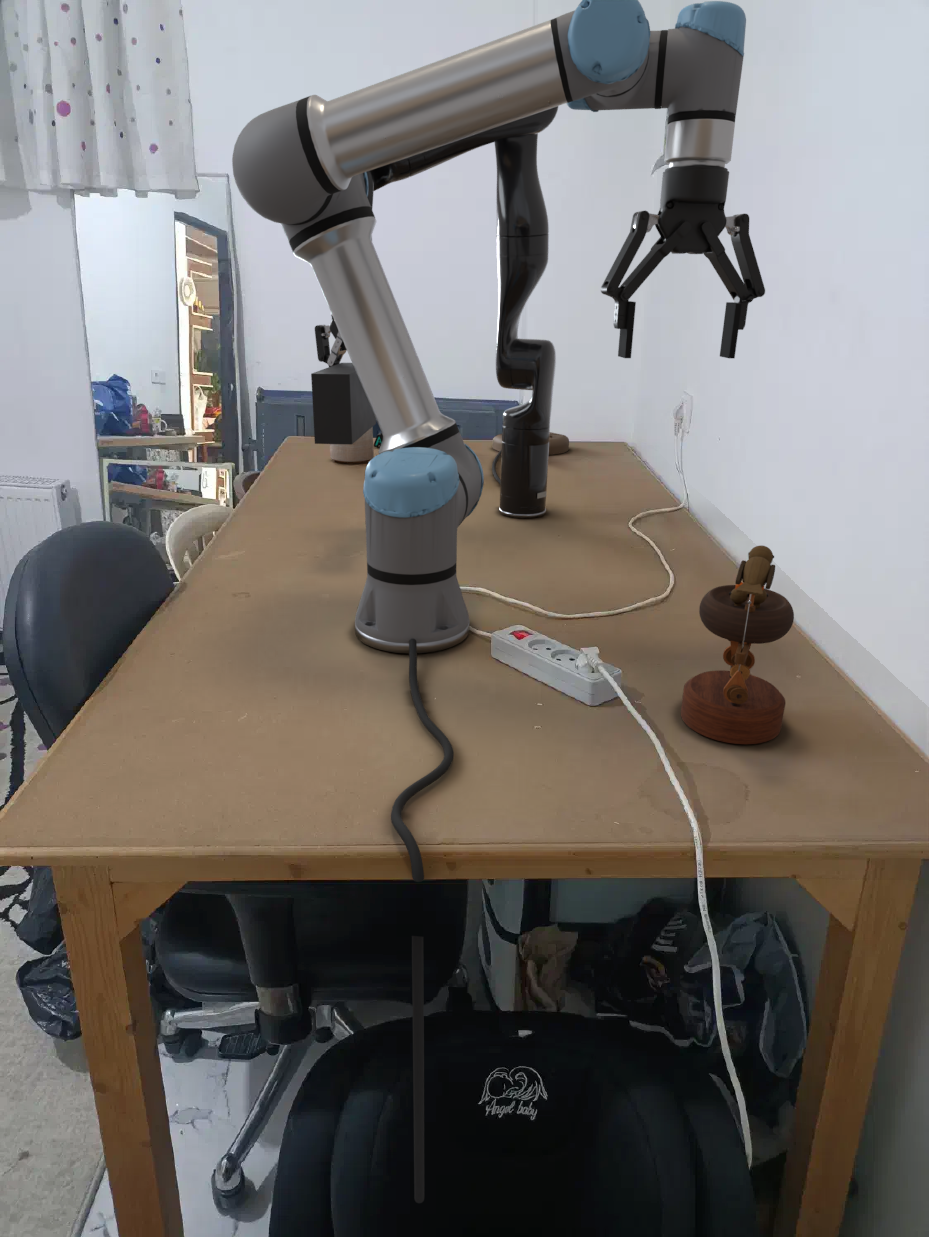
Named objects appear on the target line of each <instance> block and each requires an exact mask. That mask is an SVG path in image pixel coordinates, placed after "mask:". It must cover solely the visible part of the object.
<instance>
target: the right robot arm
mask: <svg viewBox="0 0 929 1237" xmlns="http://www.w3.org/2000/svg"><path fill="white" fill-rule="evenodd" d="M558 110H559V106H556V107H554V108H551V109H548V110H545V111H542V112H539V113H536V114H533V115H530V116H527V117H524V118H521V119H519V120H516V121H513V122H510V123H507V124H504V125H501V126H498V127H495V128H492V129H489V130H486V131H483V132H481V133H478V134H475V135H472V136H469V137H466V138H463V139H460V140H457V141H454V142H451V143H448V144H446V145H443V146H440V147H437V148H434V149H431V150H428V151H425V152H422V153H419V154H416V155H413V156H411V157H408V158H405V159H402V160H399V161H396V162H393V163H390V164H387V165H384V166H381V167H378V168H376V169H373V170H370V171H367V172H366V173H367V177H368V197H367V198H368V201H369V203H370V206H371V208H372V209H373V207H374V206H373V205H374V192H376V191H378V190H379V189H381V188H384V187H385V186H387V185H390V184H392V183H395V182H400V181H403V180H406V179H409V178H412V177H413V176H416V175H418V174H421V173H423V172H426V171H428V170H431V169H432V168H435V167H437V166H439V165H442V164H444V163H446V162H449V161H450V160H452V159H454V158H457V157H459V156H461V155H464V154H466V153H468V152H471V151H473V150H476V149H479V148H482V147H484V146H486V145H489V144H492V143H494V152H495V163H496V197H495V198H496V199H495V200H496V202H495V203H496V205H495V206H496V207H495V208H496V226H495V227H496V228H495V229H496V230H495V235H496V236H495V237H496V238H495V239H496V245H495V246H496V272H497V322H496V323H497V324H496V342H495V375H496V379H497V383H498V384H499V386H500V387H501V388H504V389H510V390H520V391H532V393H531V397H530V398H529V400H528V401H526V402H524V403H522V404H519V405H516V406H513V407H510V408H507V409H505V410H504V411H503V412H502V419H501V420H502V422H501V425H502V426H501V434H502V449H501V451H498V453H497V454H496V455H495V457H494V459H493V460H492V463H491V472H492V475H493V477H494V479H495V480H496V482H497V483H498V484H499V486H500V487H499V488H500V489H499V507H498V512H499V513H500V515H503V516H507V517H511V518H516V519H517V518H518V519H532V518H538V517H543V516H545V515H546V513H547V508H546V507H547V506H546V505H547V495H548V494H547V492H548V491H547V489H548V470H549V455H548V454H549V434H550V432H551V416H552V409H553V408H552V407H553V394H554V386H555V384H554V383H555V375H556V367H557V366H556V365H557V353H556V348H555V345H554V343H553V342H552V341H551V340H549V339H537V338H536V339H535V338H519V325H520V320H521V316H522V313H523V311H524V309H525V306H526V304H527V303H528V301H529V299H530V297H531V296H532V294H533V292H534V291H535V289H536V288H537V286H538V284H539V282H540V281H541V279H542V277H543V276H544V274H545V271H546V269H547V266H548V263H549V251H550V249H549V246H550V245H549V242H550V240H549V239H550V238H549V237H550V234H549V233H550V225H549V215H548V210H547V205H546V202H545V197H544V194H543V191H542V186H541V182H540V178H539V171H538V138H539V134H540V133H542V132H543V131H544V130H546V129H547V128H548V127H549V126H550V125H551V124H552V123H553V122H554V120H555V118H556V116H557V113H558ZM371 240H372V241H373V236H372V237H371ZM330 316H331V322H330V324H329V325H327V324H317V325H315V326H314V337H315V344H316V354H317V361H318V362H322V363H325V364H327V365H328V367H331V366H334V365H337V364H339V363H341V361H342V359H343V356H344V355H345V354H346V353H347V352H348V351H347V349H346V347H345V344H344V342H343V340H342V337H341V335H340V332H339V330H338V328H337V325H336V323H335V321H334V318H333V316H332V313H331V312H330ZM331 334H332V336H333V338H334V339H335V340H334V342H333V344H332V347H330V336H331ZM500 457H501V458H500ZM499 459H500V476H499V475H498V473H497V470H496V465H497V462H498V460H499Z"/></svg>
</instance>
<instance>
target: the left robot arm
mask: <svg viewBox="0 0 929 1237" xmlns="http://www.w3.org/2000/svg"><path fill="white" fill-rule="evenodd" d="M746 28H747V16H746V13H745V11H744V9H743V8H742V7H741V6H740V5H739V4H736V3H734V2H730V1H723V0H722V1H721V0H711V1H704V2H697V3H691V4H688V5H686V6H685V7H683V8H682V9H681V10H680V11H679V12H678V15H677V20H676V23H675V24H674V28H668V29H661V30H651V26H650V22H649V20H648V18H647V17H646V13H645V10H644V8H643V6H642V4H641V3H640V1H639V0H581V1H580V3H579V4H578V5H577V7H576V8H575V10H572V11H569V12H566V13H563V14H561V15H559V16H557V17H554V18H552V19H549V20H546V21H543V22H541V23H537V24H535V25H532V26H530V27H527V28H524V29H521V30H519V31H516V32H512V33H511V34H508V35H506V36H503V37H499V38H497V39H495V40H492V41H489V42H486V43H483V44H481V45H480V44H479V45H478V46H475V47H473V48H469V49H467V50H464V51H461V52H459V53H456V54H453V55H450V56H447V57H444V58H443V59H440V60H436V61H434V62H432V63H429V64H426V65H424V66H423V65H422V66H421V67H418V68H415V69H413V70H410V71H406V72H404V73H401V74H399V75H396V76H393V77H390V78H387V79H385V80H382V81H379V82H376V83H374V84H370V85H368V86H366V87H362V88H360V89H358V90H357V89H356V90H354V91H352V92H350V93H349V92H348V93H346V94H343V95H342V96H338V97H336V98H333V99H330V100H326V99H324V98H322V97H321V96H319V95H317V94H312V95H309V96H306V97H303V98H300V99H299V100H295V101H293V102H289V103H287V104H283V105H281V106H278V107H274V108H273V109H269V110H267V111H265V112H263V113H261V114H258V115H257V116H255V117H253V118H252V119H251V120H249V122H247V123H246V125H245V126H244V127H243V128H242V129H241V131H240V133H239V134H238V136H237V138H236V141H235V144H234V146H233V151H232V159H231V162H232V164H231V165H232V175H233V179H234V182H235V185H236V188H237V190H238V191H239V193H240V196H241V197H242V199H243V201H245V203H246V205H248V206H249V207H250V208H251V209H252V211H254V212H255V213H256V214H258V215H259V216H260V217H262V218H263V219H265V220H268V221H271V222H274V223H276V224H280V226H281V228H282V230H283V233H284V234H285V237H286V240H287V242H288V244H289V247H290V249H291V250H292V251H291V252H292V253H293V255H294V257H296V258H298V259H300V260H301V261H304V262H306V263H308V264H309V265H310V266H311V269H312V271H313V273H314V275H315V278H316V280H317V282H318V285H319V287H320V290H321V293H322V295H323V297H324V299H325V301H326V304H327V306H328V309H329V311H330V314H331V313H332V316H333V318H334V321H335V323H336V325H337V328H338V330H339V332H340V335H341V337H342V340H343V342H344V344H345V347H346V349H347V351H346V352H347V354H348V356H349V358H350V361H351V363H353V366H354V368H355V370H356V373H357V375H358V378H359V380H360V382H361V385H362V387H363V389H364V392H365V394H366V397H367V399H368V401H369V404H370V406H371V408H372V411H373V413H374V416H375V418H376V424H377V425H378V427H379V429H380V433H382V435H383V441H382V443H381V446H380V445H379V448H378V452H377V453H378V454H377V455H374V457H373V459H371V460H370V461H368V463H367V464H366V467H365V471H364V481H363V489H362V494H363V497H364V517H365V518H364V520H365V545H366V546H365V548H366V549H365V550H366V579H365V584H364V586H363V589H362V592H361V596H360V600H359V602H358V606H357V609H356V612H355V618H354V633H355V636H356V638H357V639H358V640H359V641H360V642H362V643H363V644H365V645H367V646H368V647H371V648H374V649H377V650H380V651H384V652H390V653H396V654H397V653H398V654H408V662H409V663H408V680H409V681H408V682H409V689H410V694H411V698H412V701H413V704H414V707H415V710H416V713H417V715H418V717H419V719H420V721H421V724H423V726H424V727H425V728H426V730H427V731H428V732H429V734H431V735H432V736H433V737H434V738H435V739H436V740H437V741H438V743H439V744H440V745H441V747H442V749H443V758H442V761H441V762H440V763H439V765H438V766H436V768H434V769H433V770H432V771H431V772H429V773H427V774H426V775H424V776H423V777H421V778H420V779H418V780H416V781H415V782H413V783H412V784H410V785H409V786H408V787H406V788H405V789H404V790H402V791H401V793H400V794H398V796H397V797H396V799H395V800H394V802H393V805H392V808H391V813H390V821H391V824H392V826H393V828H394V830H395V832H396V833H397V834H398V835H399V837H400V838H401V840H402V841H403V843H404V845H405V847H406V850H407V853H408V856H409V860H410V866H411V876H412V879H413V881H414V882H416V883H422V882H423V880H425V872H424V864H423V858H422V854H421V851H420V847H419V845H418V842H417V840H416V839H415V837H414V835H413V833H412V832H411V830H410V829H409V828H408V826H407V825H406V824H405V822H404V820H403V817H402V814H403V813H402V812H403V810H404V807H405V805H406V804H407V803H408V802H409V800H410V799H411V798H412V797H414V796H415V795H416V794H417V793H419V792H420V791H422V790H424V789H425V788H426V787H428V786H430V785H431V784H432V783H435V782H436V781H437V780H439V779H440V778H442V776H444V775H445V774H446V773H447V772H448V770H450V768H451V766H452V763H453V761H454V748H453V745H452V743H451V741H450V739H449V738H448V737H447V735H446V734H445V732H443V731H442V730H441V729H440V728H439V727H438V726H437V725H436V724H435V723H434V721H432V719H431V718H430V717H429V715H428V713H427V710H426V708H425V705H424V703H423V700H422V697H421V692H420V688H419V682H418V654H425V653H433V652H439V651H443V650H446V649H449V648H452V647H455V646H457V645H458V644H460V643H462V642H463V641H464V640H466V639H467V637H468V636H469V634H470V616H469V612H468V608H467V606H466V601H465V599H464V596H463V593H462V589H461V586H460V583H459V581H458V577H457V561H458V560H457V559H458V558H457V557H458V556H457V554H458V528H459V527H460V526H461V524H462V523H464V521H465V519H466V518H468V517H469V516H470V515H471V514H472V513H473V512H474V510H475V509H476V507H477V506H478V503H479V502H480V499H481V497H482V493H483V488H484V483H485V482H484V480H485V479H484V477H485V475H484V470H483V466H482V463H481V461H480V458H479V457H478V455H477V454H476V453H475V451H474V450H473V448H471V447H470V446H469V445H468V444H466V443H465V441H464V439H463V437H462V434H461V431H460V429H459V427H458V424H457V422H456V420H455V419H454V418H452V417H450V416H447V415H445V414H443V413H442V412H441V411H440V408H439V406H438V403H437V401H436V399H435V398H436V397H435V396H434V393H433V391H432V388H431V386H430V383H429V381H428V379H427V376H426V373H425V371H424V368H423V365H422V363H421V361H420V358H419V356H418V353H417V351H416V348H415V344H414V343H413V340H412V338H411V335H410V333H409V330H408V328H407V325H406V323H405V321H404V318H403V315H402V313H401V311H400V308H399V305H398V303H397V301H396V297H395V295H394V292H393V290H392V288H391V285H390V282H389V280H388V278H387V275H386V272H385V271H384V270H385V269H384V268H383V265H382V263H381V260H380V258H379V255H378V252H377V250H376V248H375V246H374V242H373V239H372V240H371V237H372V238H373V233H374V231H375V228H376V224H377V219H376V216H375V214H374V211H373V207H372V208H371V206H370V203H369V201H368V198H367V197H368V177H367V173H366V172H367V171H370V170H373V169H376V168H378V167H381V166H384V165H387V164H390V163H393V162H396V161H399V160H402V159H405V158H408V157H411V156H413V155H416V154H419V153H422V152H425V151H428V150H431V149H434V148H437V147H440V146H443V145H446V144H448V143H451V142H454V141H457V140H460V139H463V138H466V137H469V136H472V135H475V134H478V133H481V132H483V131H486V130H489V129H492V128H495V127H498V126H501V125H504V124H507V123H510V122H513V121H516V120H519V119H521V118H524V117H527V116H530V115H533V114H536V113H539V112H542V111H545V110H548V109H551V108H554V107H556V106H558V107H559V106H562V105H565V104H566V106H568V108H569V109H571V110H574V111H591V112H593V113H598V112H599V111H615V110H616V111H619V110H645V109H646V110H648V109H655V110H661V109H667V110H668V118H667V126H666V138H665V148H664V159H663V162H664V163H665V164H666V165H668V168H665V169H664V171H663V172H662V177H661V179H662V180H661V190H660V201H659V204H660V205H659V209H658V212H657V214H655V213H649V211H647V210H640V211H639V210H638V211H635V212H634V213H633V215H632V218H631V224H630V230H629V233H628V235H627V237H626V239H625V241H624V243H623V244H622V246H621V248H620V250H619V252H618V254H617V256H616V257H615V260H614V262H613V263H612V265H611V267H610V269H609V272H608V273H607V275H606V277H605V279H604V281H603V282H602V284H601V286H600V293H601V294H602V295H605V296H607V297H610V298H612V299H613V301H614V309H613V311H614V312H613V328H614V329H616V330H619V339H618V349H617V350H618V351H617V357H620V358H623V359H632V353H633V352H632V351H633V350H632V349H633V339H634V330H635V329H634V327H635V315H636V304H637V301H632V300H631V301H630V299H631V297H632V296H633V295H634V294H635V293H636V291H637V290H638V289H639V288H640V287H641V286H642V285H643V283H644V282H645V281H646V280H647V279H648V277H649V276H650V275H651V274H652V273H653V272H654V270H655V269H656V268H657V267H658V266H659V264H660V263H661V262H662V261H663V260H664V259H665V258H666V257H667V256H669V255H670V253H671V254H672V255H681V254H683V255H684V254H689V255H703V256H705V258H707V259H708V261H709V263H710V264H711V265H712V267H713V270H715V272H716V274H717V275H718V277H719V279H720V280H721V282H722V284H723V285H724V287H725V288H726V290H727V292H728V293H729V295H730V296H731V299H732V300H733V302H732V301H730V302H729V301H726V302H725V311H724V318H723V325H722V326H723V327H722V335H721V342H720V350H719V357H721V358H724V359H735V358H736V351H737V343H738V335H739V331H743V330H744V329H745V327H746V321H747V314H748V306H749V303H752V302H753V301H754V299H757V298H762V297H764V295H765V294H766V288H765V285H764V280H763V278H762V277H763V276H762V274H761V270H760V267H759V264H758V260H757V257H756V254H755V250H754V247H753V243H752V240H751V236H750V215H749V214H748V213H738V214H733V215H732V216H726V212H725V205H726V202H727V195H728V185H729V179H730V171H729V169H728V168H727V167H726V165H727V164H729V163H730V162H731V161H732V154H733V145H734V144H733V143H734V137H735V126H736V116H737V110H738V102H739V96H740V95H739V94H740V86H741V81H742V80H741V79H742V71H743V64H744V57H745V40H746ZM654 226H655V229H656V230H657V232H658V234H659V236H660V237H659V238H658V239H657V240H656V242H655V243H654V244H653V245H652V246H651V248H650V250H649V251H648V253H647V254H646V255H645V256H644V257H643V258H642V259H641V261H640V262H639V263H638V264H637V266H635V268H634V269H633V270H632V272H631V273H630V274H629V275H628V276H627V278H626V279H625V280H624V281H623V279H624V278H625V276H626V274H627V272H628V270H629V268H630V267H631V264H632V263H633V261H634V259H635V257H636V255H637V254H638V251H639V249H640V247H641V246H642V244H643V241H644V239H645V237H646V235H647V233H650V232H651V230H652V228H653V227H654ZM725 229H726V233H727V234H728V235H729V236H730V241H731V244H732V245H731V246H732V248H733V251H734V254H735V258H736V262H737V264H738V268H739V271H740V275H741V276H740V275H739V272H738V271H737V269H736V268H735V266H734V264H733V263H732V261H731V260H730V258H729V256H728V254H727V253H726V248H725V246H724V245H723V243H722V240H720V238H719V236H720V234H722V232H723V231H724V230H725ZM622 281H623V282H622ZM621 283H622V284H621ZM332 316H331V317H332ZM411 980H412V981H411V983H412V985H411V988H412V990H411V992H412V994H411V996H412V997H411V998H412V999H411V1000H412V1072H413V1073H412V1079H413V1080H412V1082H413V1084H412V1085H413V1086H412V1087H413V1088H412V1090H413V1184H414V1186H413V1187H414V1188H413V1189H414V1190H413V1191H414V1192H413V1193H414V1195H413V1196H414V1197H413V1198H414V1201H415V1203H417V1204H423V1202H424V1201H425V1016H424V1015H425V1014H424V1012H425V1010H424V1009H425V1007H424V1004H425V1003H424V1002H425V1001H424V1000H425V999H424V997H425V995H424V987H425V986H424V936H419V935H411Z"/></svg>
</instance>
